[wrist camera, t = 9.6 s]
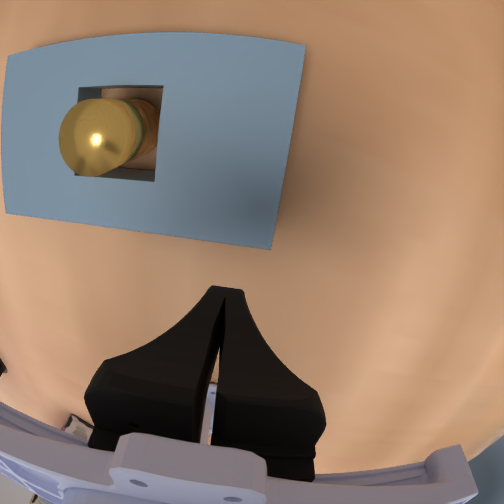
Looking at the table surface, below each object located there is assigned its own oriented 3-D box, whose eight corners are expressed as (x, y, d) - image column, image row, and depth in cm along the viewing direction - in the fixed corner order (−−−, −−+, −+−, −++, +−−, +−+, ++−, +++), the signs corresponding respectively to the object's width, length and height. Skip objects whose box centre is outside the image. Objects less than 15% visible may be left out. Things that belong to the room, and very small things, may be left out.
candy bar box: (69, 411, 33) (29, 504, 18) (100, 429, 34) (67, 523, 20) (58, 432, 37) (27, 507, 22) (83, 447, 38) (56, 523, 24)
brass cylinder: (159, 159, 19) (122, 179, 14) (107, 155, 19) (58, 175, 14) (164, 99, 18) (127, 97, 12) (110, 99, 17) (60, 101, 12)
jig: (269, 231, 21) (270, 250, 19) (27, 201, 20) (5, 213, 18) (299, 55, 16) (306, 45, 13) (32, 57, 15) (8, 55, 13)
